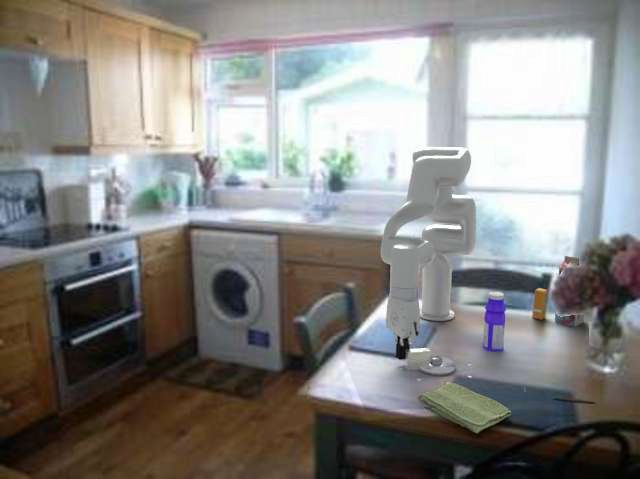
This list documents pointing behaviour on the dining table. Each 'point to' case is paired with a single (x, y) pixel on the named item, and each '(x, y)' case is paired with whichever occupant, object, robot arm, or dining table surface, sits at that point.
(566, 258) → the juice carton
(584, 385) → the dining table surface
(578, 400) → the fork
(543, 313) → the supplement box
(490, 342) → the bottle
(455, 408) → the washcloth
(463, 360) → the dining table surface
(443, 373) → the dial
